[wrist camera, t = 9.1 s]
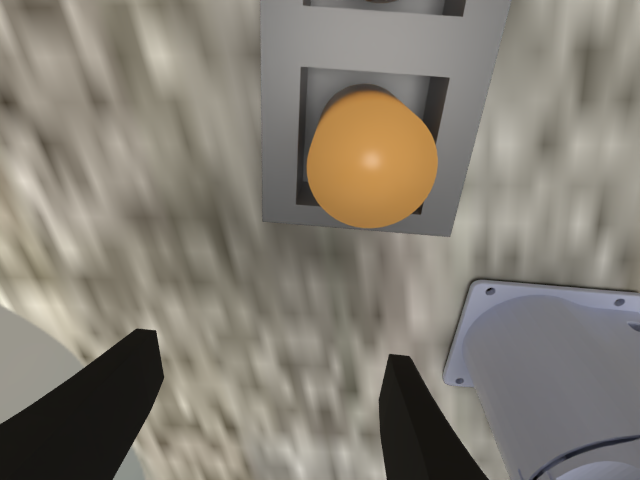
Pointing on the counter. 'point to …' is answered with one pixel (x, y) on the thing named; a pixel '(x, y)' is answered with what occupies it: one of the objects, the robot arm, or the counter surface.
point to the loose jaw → (380, 1)
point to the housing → (373, 109)
